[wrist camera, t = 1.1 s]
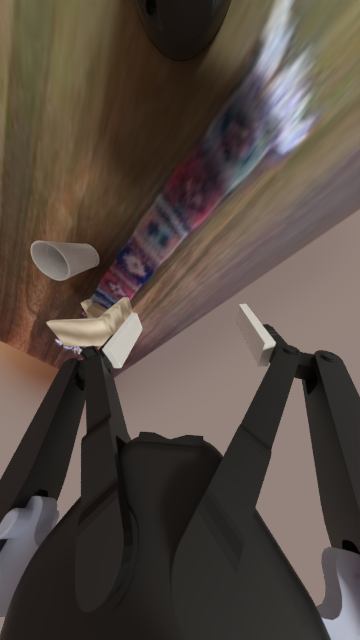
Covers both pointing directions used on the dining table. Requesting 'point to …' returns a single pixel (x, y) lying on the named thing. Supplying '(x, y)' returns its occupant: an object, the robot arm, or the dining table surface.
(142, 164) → the dining table surface
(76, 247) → the cup
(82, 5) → the dining table surface
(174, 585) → the robot arm
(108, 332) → the shelf
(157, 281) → the dining table surface
